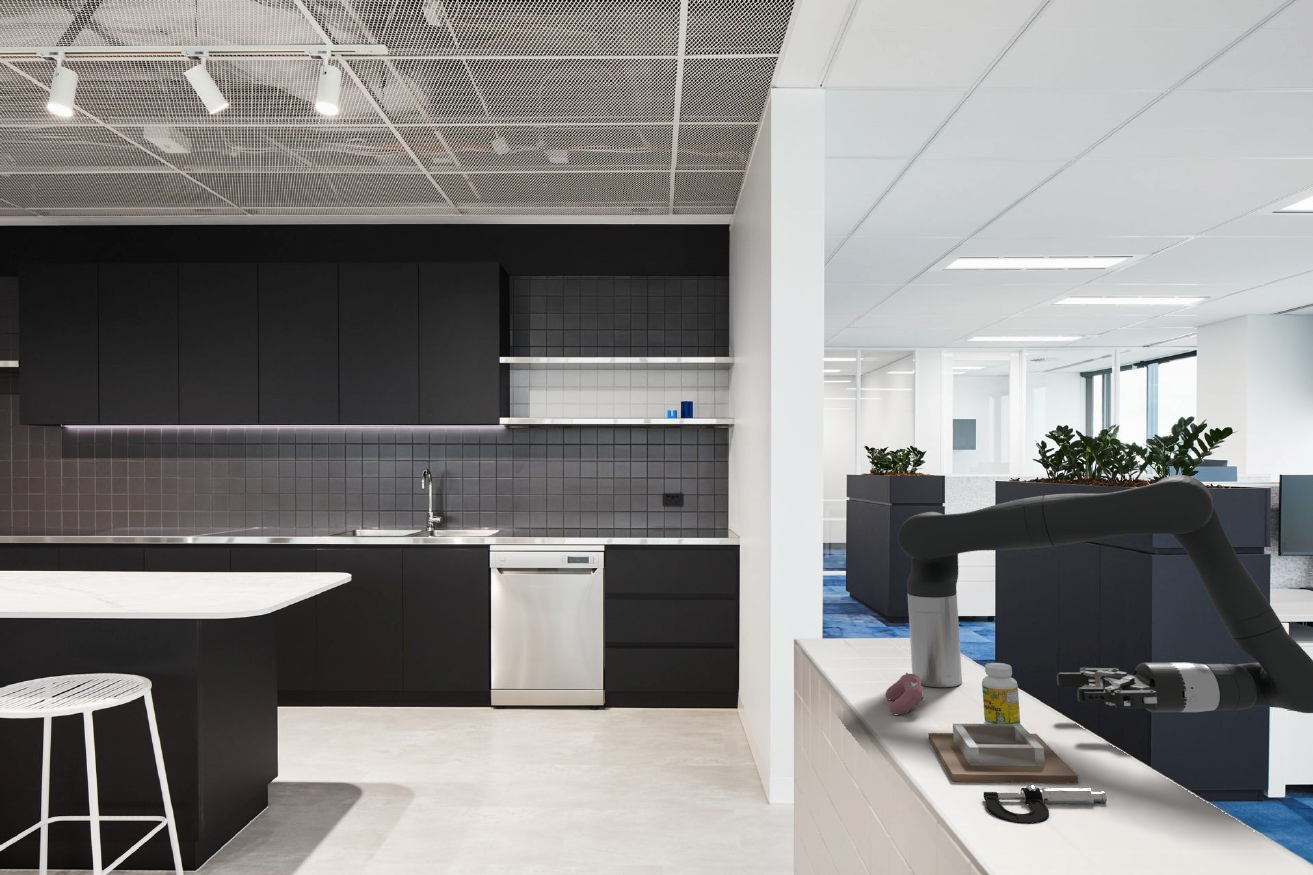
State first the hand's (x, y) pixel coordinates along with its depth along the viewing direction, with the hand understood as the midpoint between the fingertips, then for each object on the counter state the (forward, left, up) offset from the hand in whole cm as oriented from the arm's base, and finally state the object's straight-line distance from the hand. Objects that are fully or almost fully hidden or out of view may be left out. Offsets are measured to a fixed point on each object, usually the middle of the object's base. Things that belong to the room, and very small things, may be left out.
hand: (1067, 687), depth 123 cm
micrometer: (+31, -14, -7) cm, 35 cm away
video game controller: (-9, -24, -6) cm, 27 cm away
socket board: (+15, -15, -6) cm, 22 cm away
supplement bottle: (0, -10, -6) cm, 12 cm away
